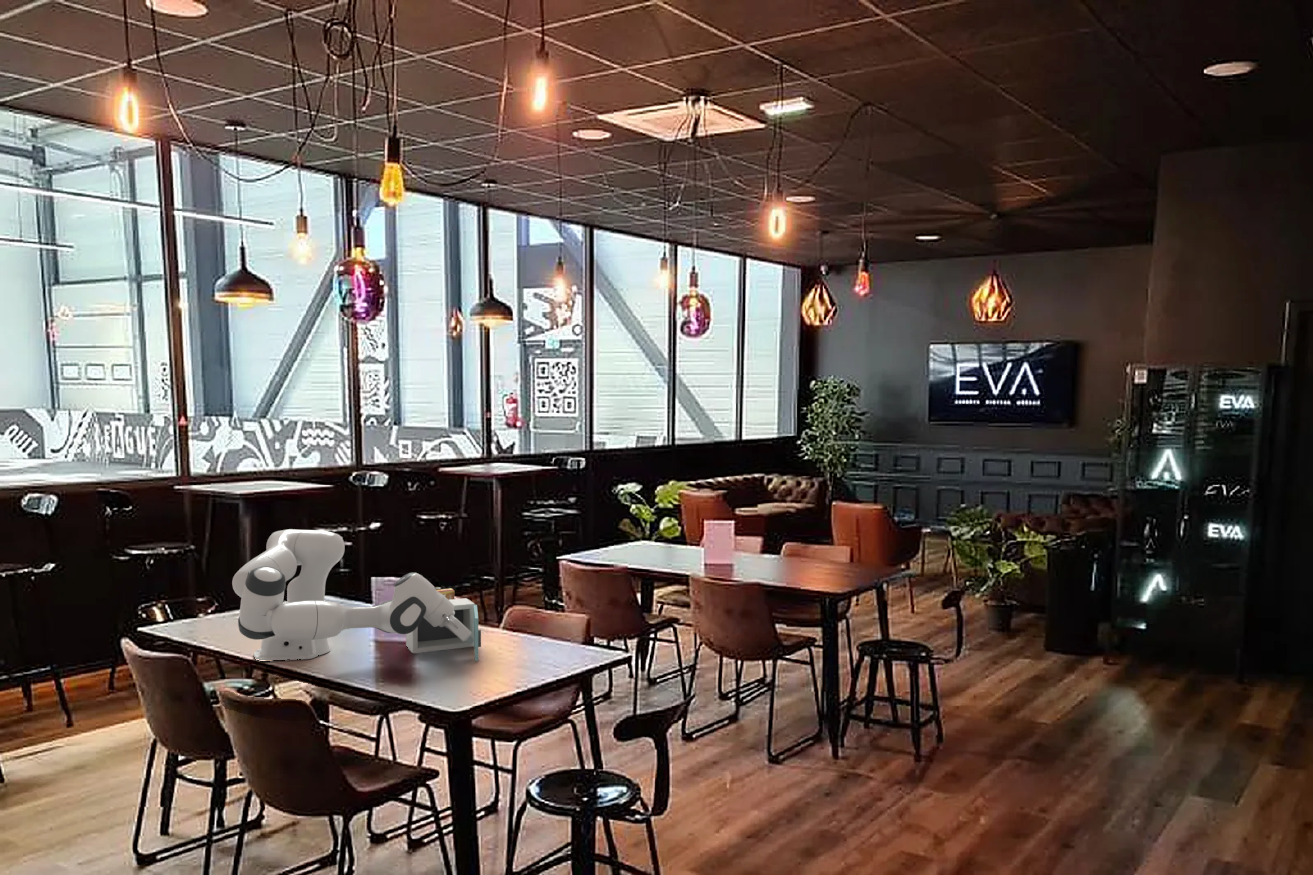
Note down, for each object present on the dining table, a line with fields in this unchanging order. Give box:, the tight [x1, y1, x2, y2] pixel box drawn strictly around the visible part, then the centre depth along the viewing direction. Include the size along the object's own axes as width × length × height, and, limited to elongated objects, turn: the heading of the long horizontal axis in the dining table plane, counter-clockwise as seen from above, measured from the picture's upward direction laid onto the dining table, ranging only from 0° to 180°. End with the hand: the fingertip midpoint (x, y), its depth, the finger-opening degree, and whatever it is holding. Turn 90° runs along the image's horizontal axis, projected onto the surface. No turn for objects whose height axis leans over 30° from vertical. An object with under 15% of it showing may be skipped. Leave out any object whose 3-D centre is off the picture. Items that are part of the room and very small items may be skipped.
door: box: [473, 604, 482, 662], centre depth 294 cm, size 20×2×13 cm, turn 12°
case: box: [405, 597, 476, 654], centre depth 304 cm, size 20×10×14 cm, turn 117°
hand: (471, 641), depth 291 cm, fingers closed
